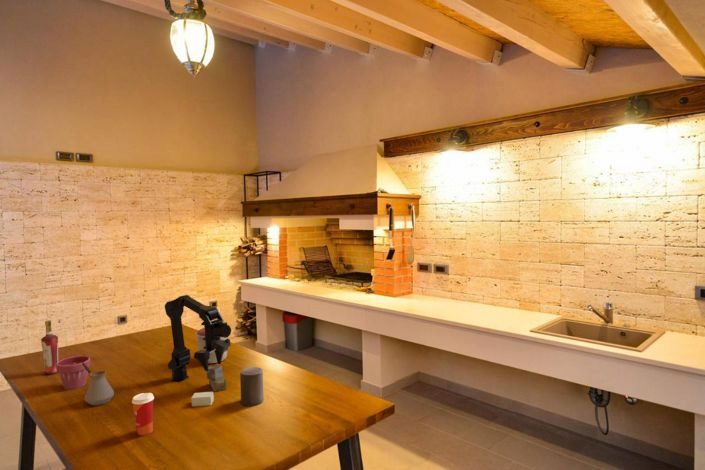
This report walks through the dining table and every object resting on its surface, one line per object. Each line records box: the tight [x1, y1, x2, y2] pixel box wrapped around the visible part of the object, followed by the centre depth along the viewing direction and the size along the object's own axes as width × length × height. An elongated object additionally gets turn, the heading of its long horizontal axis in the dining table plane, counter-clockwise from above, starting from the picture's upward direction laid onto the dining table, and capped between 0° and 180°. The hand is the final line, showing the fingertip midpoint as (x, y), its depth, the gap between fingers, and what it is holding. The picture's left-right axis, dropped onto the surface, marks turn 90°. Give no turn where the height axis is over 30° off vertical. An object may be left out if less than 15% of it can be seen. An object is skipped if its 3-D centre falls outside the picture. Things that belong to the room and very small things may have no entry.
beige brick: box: [191, 391, 215, 407], centre depth 191 cm, size 8×5×4 cm, turn 94°
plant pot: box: [56, 355, 92, 391], centre depth 214 cm, size 14×14×13 cm
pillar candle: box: [239, 366, 265, 407], centre depth 191 cm, size 10×10×15 cm
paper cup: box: [131, 392, 155, 437], centre depth 168 cm, size 8×8×14 cm
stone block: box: [208, 376, 227, 392], centre depth 209 cm, size 6×12×5 cm, turn 31°
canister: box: [195, 327, 229, 364], centre depth 244 cm, size 18×18×21 cm
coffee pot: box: [80, 363, 115, 406], centre depth 199 cm, size 21×12×15 cm, turn 53°
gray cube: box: [206, 364, 224, 380], centre depth 208 cm, size 5×5×5 cm
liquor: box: [40, 319, 59, 375], centre depth 233 cm, size 7×7×28 cm
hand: (213, 367), depth 207 cm, fingers open, 9 cm apart
